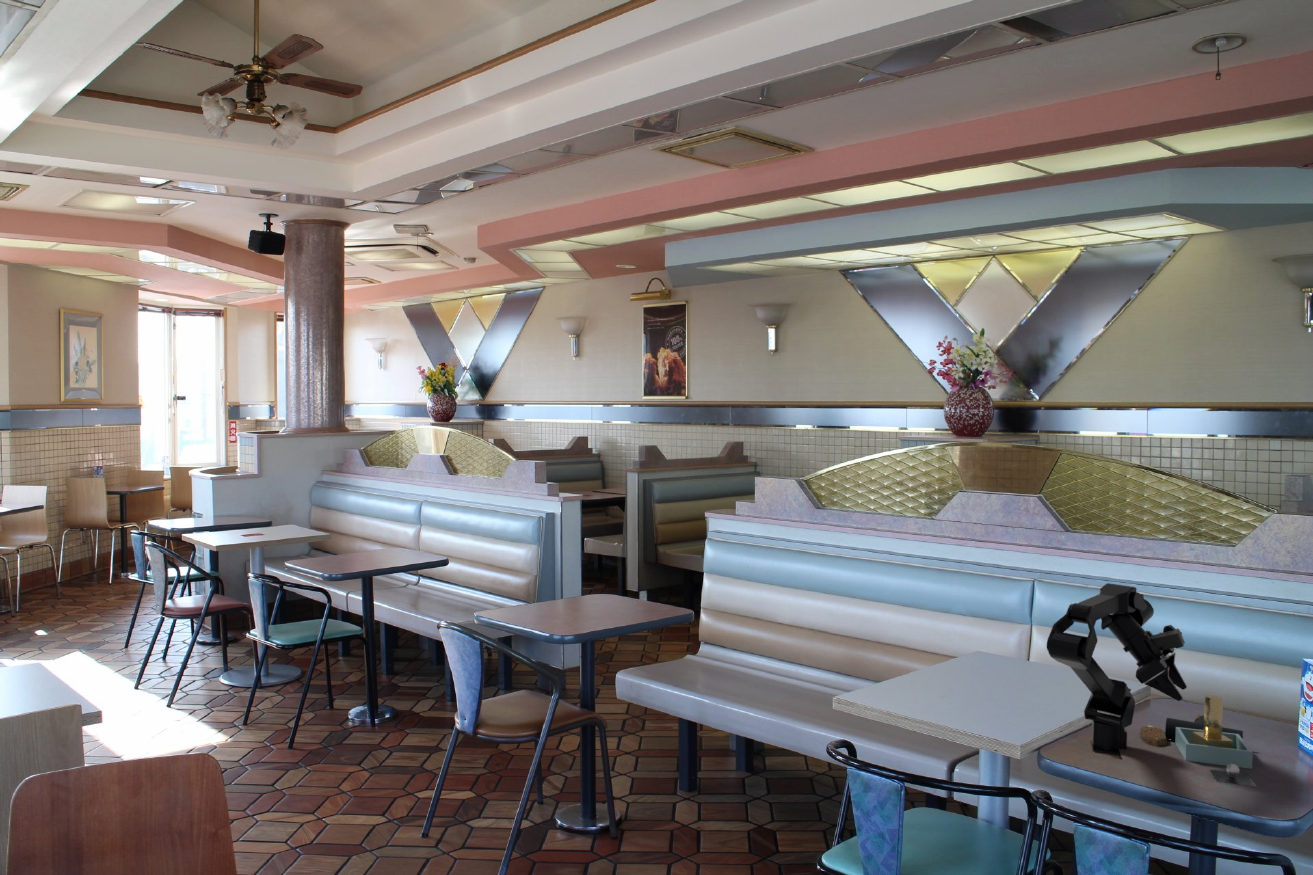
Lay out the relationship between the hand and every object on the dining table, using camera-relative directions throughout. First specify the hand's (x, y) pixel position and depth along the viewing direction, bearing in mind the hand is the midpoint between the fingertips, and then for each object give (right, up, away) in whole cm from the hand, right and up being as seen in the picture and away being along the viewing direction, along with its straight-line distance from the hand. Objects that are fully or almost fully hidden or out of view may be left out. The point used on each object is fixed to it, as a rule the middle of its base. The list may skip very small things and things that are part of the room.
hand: (1183, 694), depth 210 cm
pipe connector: (+10, -14, +10) cm, 20 cm away
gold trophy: (+5, -13, -3) cm, 14 cm away
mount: (+1, -14, -16) cm, 21 cm away
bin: (+5, -14, -3) cm, 15 cm away
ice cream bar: (-2, -14, +9) cm, 17 cm away
